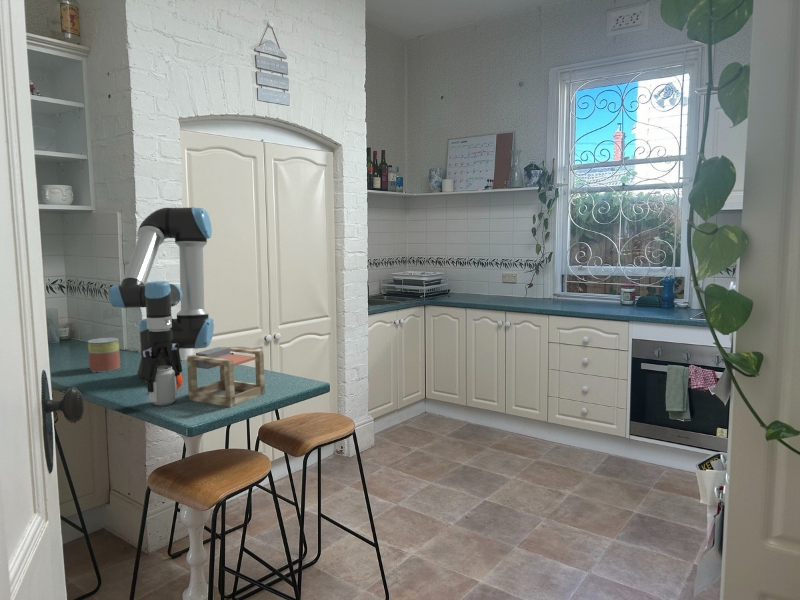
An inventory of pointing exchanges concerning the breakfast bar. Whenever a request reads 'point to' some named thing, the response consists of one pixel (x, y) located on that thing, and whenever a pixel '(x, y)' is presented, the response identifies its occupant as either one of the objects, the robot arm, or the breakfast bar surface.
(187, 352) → the mug
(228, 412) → the breakfast bar surface
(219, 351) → the grey and pink block
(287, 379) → the breakfast bar surface
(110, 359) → the canned food
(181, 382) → the clementine
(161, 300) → the robot arm
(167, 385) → the can
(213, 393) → the frame
